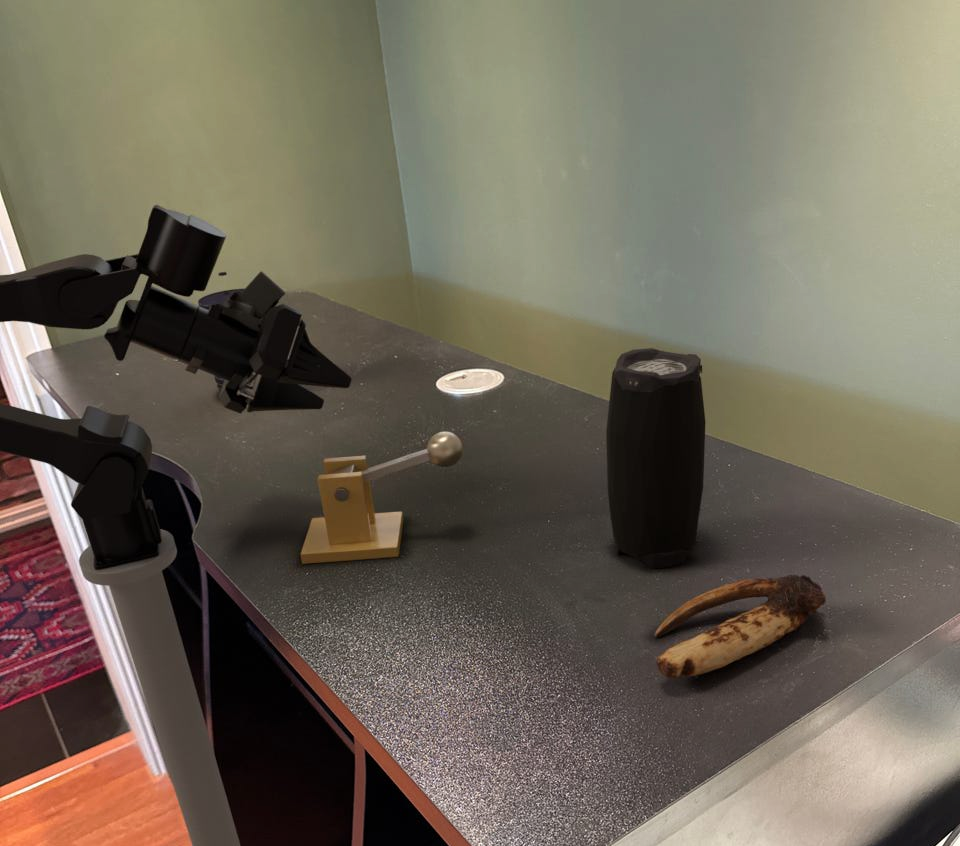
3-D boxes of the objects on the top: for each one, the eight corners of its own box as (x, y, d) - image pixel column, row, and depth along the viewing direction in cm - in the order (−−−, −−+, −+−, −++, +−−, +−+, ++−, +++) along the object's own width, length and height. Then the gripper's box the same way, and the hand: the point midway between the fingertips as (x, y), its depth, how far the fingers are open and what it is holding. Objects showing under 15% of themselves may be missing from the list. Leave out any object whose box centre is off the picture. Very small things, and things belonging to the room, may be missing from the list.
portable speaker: (715, 541, 91) (725, 352, 82) (666, 582, 85) (671, 384, 76) (641, 519, 97) (643, 339, 87) (590, 557, 91) (587, 367, 81)
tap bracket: (403, 520, 101) (393, 447, 97) (398, 557, 94) (387, 479, 90) (313, 527, 101) (300, 454, 97) (302, 564, 94) (286, 487, 90)
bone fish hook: (760, 585, 85) (609, 654, 76) (762, 540, 83) (608, 606, 74) (845, 627, 77) (688, 708, 69) (850, 578, 75) (689, 656, 67)
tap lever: (467, 452, 95) (455, 421, 93) (467, 466, 91) (455, 435, 90) (341, 493, 97) (327, 464, 95) (337, 509, 94) (322, 479, 92)
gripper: (233, 223, 83) (388, 296, 89) (197, 293, 99) (330, 350, 105) (194, 332, 80) (357, 400, 86) (164, 385, 97) (302, 439, 103)
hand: (335, 394), depth 95 cm, fingers open, 9 cm apart
